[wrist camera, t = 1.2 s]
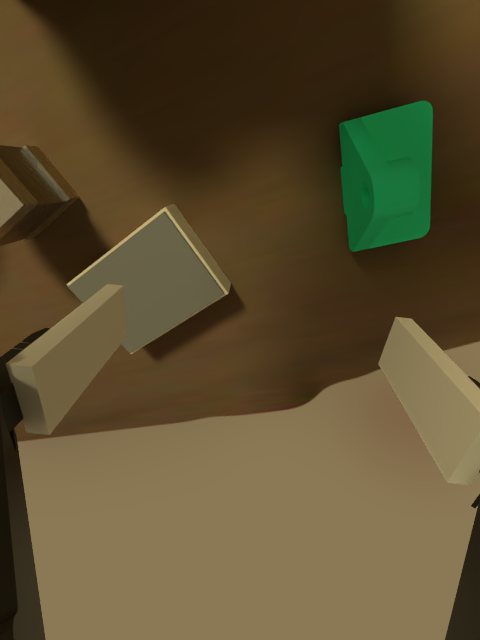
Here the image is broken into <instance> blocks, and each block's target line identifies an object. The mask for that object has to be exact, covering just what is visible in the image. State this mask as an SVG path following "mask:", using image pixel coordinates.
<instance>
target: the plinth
mask: <svg viewBox="0 0 480 640" xmlns="http://www.w3.org/2000/svg"><path fill="white" fill-rule="evenodd" d="M107 284H113V285H121V286H123V288H124V300H125V312H126V325H127V336H126V337H125V339H124V340H123V341H122V343H121V344H122V345H123V346H124V348H125V349H126V350H127V351H128V352H129V353H131V354H132V353H134V352H136V351H137V350H139V349H140V348H142V347H144V346H145V345H147V344H149V343H150V342H152V341H153V340H155V339H157V338H158V337H160V336H161V335H163V334H165V333H166V332H168V331H169V330H171V329H173V328H174V327H176V326H177V325H179V324H181V323H182V322H184V321H185V320H187V319H189V318H190V317H192V316H193V315H195V314H197V313H198V312H200V311H201V310H203V309H205V308H206V307H208V306H209V305H211V304H213V303H214V302H216V301H217V300H219V299H221V298H222V297H224V296H225V295H227V294H228V293H229V290H230V286H231V282H230V281H229V280H228V278H227V277H226V275H225V274H224V273H223V271H222V270H221V268H220V267H219V266H218V264H217V263H216V261H215V260H214V259H213V257H212V256H211V254H210V253H209V252H208V250H207V249H206V247H205V246H204V245H203V243H202V242H201V240H200V239H199V238H198V236H197V235H196V233H195V232H194V230H193V229H192V228H191V226H190V225H189V223H188V222H187V221H186V219H185V218H184V216H183V215H182V214H181V212H180V211H179V209H178V208H177V207H176V205H175V204H172V205H169V206H166V207H165V208H163V209H162V210H161V211H159V212H158V213H157V214H156V215H154V216H153V217H152V218H150V219H149V220H148V221H147V222H145V223H144V224H143V225H142V226H140V227H139V228H138V229H136V230H135V231H134V232H133V233H131V234H130V235H129V236H128V237H126V238H125V239H124V240H122V241H121V242H120V243H119V244H117V245H116V246H115V247H113V248H112V249H111V250H110V251H108V252H107V253H106V254H105V255H103V256H102V257H101V258H99V259H98V260H97V261H96V262H94V263H93V264H92V265H90V266H89V267H88V268H87V269H85V270H84V271H83V272H82V273H80V274H79V275H78V276H76V277H75V278H74V279H73V280H71V281H70V282H69V283H68V284H66V285H67V286H68V288H69V289H70V290H71V291H72V292H73V293H74V294H75V295H76V296H77V297H78V298H79V299H80V300H81V302H82V303H84V302H85V301H86V300H88V299H89V298H90V297H92V296H93V295H94V294H95V293H97V292H98V291H99V290H100V289H102V288H103V287H104V286H106V285H107Z"/></svg>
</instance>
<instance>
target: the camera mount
mask: <svg viewBox="0 0 480 640" xmlns="http://www.w3.org/2000/svg"><path fill="white" fill-rule="evenodd" d="M339 132H340V144H341V156H342V167H340V170H341V181H342V193H343V204H344V214H345V215H346V216H347V227H348V239H349V249H350V250H351V251H352V252H356V251H360V250H365V249H370V248H375V247H380V246H384V245H389V244H394V243H399V242H404V241H408V240H413V239H418V238H421V237H423V236H425V235H426V234H427V232H428V231H429V229H430V211H431V171H432V132H433V108H432V106H431V104H430V103H429V102H427V101H418V102H415V103H411V104H407V105H404V106H400V107H396V108H393V109H389V110H385V111H382V112H378V113H374V114H371V115H367V116H363V117H360V118H356V119H352V120H349V121H345V122H342V123H340V124H339Z"/></svg>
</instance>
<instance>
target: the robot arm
mask: <svg viewBox="0 0 480 640" xmlns="http://www.w3.org/2000/svg"><path fill="white" fill-rule="evenodd" d="M126 336H127V325H126V312H125V300H124V288H123V286H121V285H113V284H107V285H106V286H104V287H103V288H102V289H100V290H99V291H98V292H97V293H95V294H94V295H93V296H92V297H90V298H89V299H88V300H86V301H85V302H84V303H83V304H81V305H80V306H79V307H78V308H76V309H75V310H74V311H72V312H71V313H70V314H69V315H67V316H66V317H65V318H63V319H62V320H61V321H60V322H58V323H57V324H56V325H55V326H53V327H52V328H51V329H50V328H45V329H42V330H40V331H37V332H35V333H33V334H31V335H30V336H28V337H27V338H26V339H24V340H23V341H22V343H19V344H18V345H16V346H15V347H14V349H11V350H9V351H8V352H7V353H5V354H4V355H3V356H1V357H0V640H45V633H44V626H43V619H42V612H41V605H40V598H39V592H38V584H37V577H36V571H35V563H34V556H33V549H32V542H31V535H30V528H29V521H28V514H27V508H26V500H25V493H24V486H23V479H22V472H21V466H20V459H19V451H18V444H17V437H16V433H15V430H14V428H15V427H16V426H17V424H18V423H19V422H20V421H21V420H22V419H23V422H24V425H25V429H26V432H29V433H37V434H46V435H50V434H51V432H52V431H53V430H54V429H55V427H56V426H57V425H58V423H59V422H60V421H61V420H62V418H63V417H64V416H65V414H66V413H67V412H68V411H69V409H70V408H71V407H72V405H73V404H74V403H75V402H76V400H77V399H78V398H79V396H80V395H81V394H82V393H83V391H84V390H85V389H86V387H87V386H88V385H89V384H90V382H91V381H92V380H93V379H94V377H95V376H96V375H97V373H98V372H99V371H100V370H101V368H102V367H103V366H104V364H105V363H106V362H107V361H108V359H109V358H110V357H111V355H112V354H113V353H114V352H115V350H116V349H117V348H118V346H119V345H120V344H121V343H122V341H123V340H124V339H125V337H126ZM378 365H379V367H380V368H381V370H382V372H383V373H384V375H385V377H386V378H387V380H388V382H389V384H390V385H391V387H392V388H393V391H394V392H395V394H396V396H397V397H398V399H399V401H400V403H401V404H402V406H403V407H404V409H405V411H406V413H407V415H408V416H409V418H410V419H411V421H412V423H413V425H414V427H415V428H416V430H417V432H418V433H419V435H420V437H421V439H422V440H423V442H424V444H425V445H426V447H427V449H428V451H429V452H430V454H431V456H432V457H433V459H434V461H435V463H436V464H437V466H438V468H439V469H440V471H441V473H442V475H443V476H444V478H445V480H446V481H447V483H456V484H464V485H471V484H472V483H473V481H474V480H475V478H476V477H477V475H478V474H479V473H480V383H479V382H478V381H476V380H475V379H473V378H472V377H470V376H467V375H466V374H465V373H464V372H463V371H462V370H461V369H460V368H459V367H458V366H457V365H456V364H455V363H454V362H453V361H452V360H451V359H450V358H449V357H448V356H447V355H446V354H445V353H444V352H443V351H442V349H441V348H440V347H439V346H438V345H437V344H436V343H435V342H434V341H433V340H432V339H431V338H430V337H429V336H428V335H427V334H426V333H425V332H424V331H423V330H422V329H421V328H420V327H419V326H418V325H417V324H416V323H415V322H414V321H413V320H412V319H409V318H401V317H395V320H394V323H393V325H392V328H391V331H390V333H389V336H388V339H387V342H386V344H385V347H384V350H383V352H382V355H381V358H380V360H379V363H378ZM471 506H472V507H473V508H476V507H477V506H478V509H477V513H476V517H475V521H474V525H473V529H472V533H471V537H470V541H469V545H468V549H467V553H466V557H465V561H464V565H463V569H462V573H461V578H460V582H459V586H458V590H457V594H456V598H455V602H454V606H453V610H452V614H451V618H450V622H449V626H448V630H447V634H446V638H445V640H480V494H479V496H478V497H477V499H476V500H475V501H474V503H473V504H472V505H471Z"/></svg>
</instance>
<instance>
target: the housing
mask: <svg viewBox="0 0 480 640" xmlns="http://www.w3.org/2000/svg"><path fill="white" fill-rule="evenodd" d="M78 198H79V196H78V195H77V193H76V192H75V191H74V190H73V189H72V187H71V186H70V185H69V184H68V183H67V181H66V180H65V179H64V178H63V176H62V175H61V174H60V173H59V172H58V170H57V169H56V168H55V167H54V165H53V164H52V163H51V162H50V161H49V159H48V158H47V157H46V156H45V154H44V153H43V152H42V151H41V150H40V148H39V147H37V146H29V145H25V146H24V147H23V148H21V147H11V146H2V145H0V246H2V245H5V244H9V243H12V242H16V241H20V240H23V241H24V240H28V239H31V238H35V237H36V236H37V235H38V234H39V233H40V232H41V231H43V230H44V229H45V228H46V227H47V226H48V225H49V224H50V223H51V222H53V221H54V220H55V219H56V218H57V217H58V216H59V215H60V214H62V213H63V212H64V211H65V210H66V209H67V208H68V207H69V206H71V205H72V204H73V203H74V202H75V201H76V200H77V199H78Z"/></svg>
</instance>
